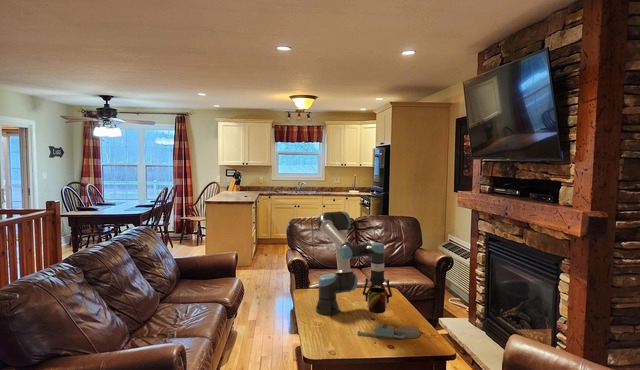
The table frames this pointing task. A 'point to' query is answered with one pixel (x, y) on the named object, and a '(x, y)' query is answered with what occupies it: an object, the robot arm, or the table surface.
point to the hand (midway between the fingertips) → (377, 307)
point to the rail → (380, 336)
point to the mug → (377, 300)
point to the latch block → (384, 331)
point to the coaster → (407, 332)
